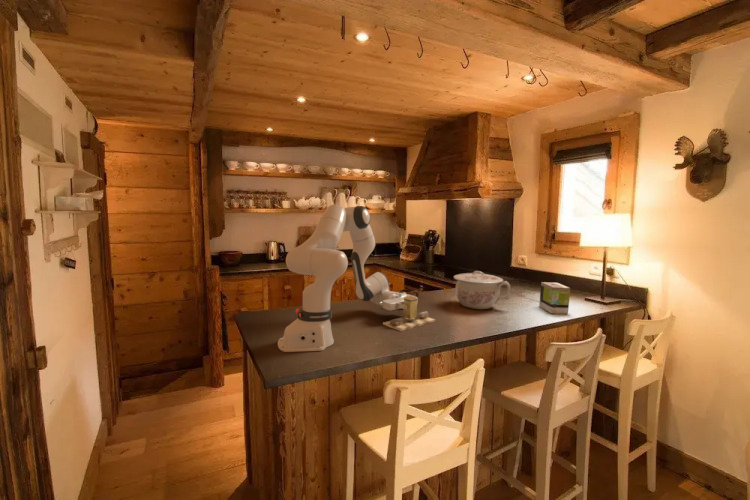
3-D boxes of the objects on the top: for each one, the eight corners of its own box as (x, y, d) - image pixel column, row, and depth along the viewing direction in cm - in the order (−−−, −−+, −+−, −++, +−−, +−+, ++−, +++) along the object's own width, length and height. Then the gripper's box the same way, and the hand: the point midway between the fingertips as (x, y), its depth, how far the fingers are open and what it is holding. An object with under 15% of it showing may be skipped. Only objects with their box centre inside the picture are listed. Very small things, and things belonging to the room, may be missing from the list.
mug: (414, 304, 216) (415, 288, 215) (421, 307, 209) (422, 291, 208) (396, 306, 211) (396, 289, 210) (402, 309, 204) (403, 292, 203)
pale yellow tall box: (410, 318, 177) (410, 299, 176) (403, 316, 181) (403, 297, 180) (416, 317, 180) (417, 298, 179) (409, 314, 184) (410, 296, 183)
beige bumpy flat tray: (400, 331, 168) (400, 323, 168) (383, 324, 178) (383, 316, 177) (435, 321, 184) (435, 313, 184) (417, 315, 193) (417, 308, 193)
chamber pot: (442, 302, 220) (444, 268, 218) (479, 298, 232) (481, 266, 229) (473, 315, 195) (475, 277, 192) (513, 310, 206) (515, 273, 204)
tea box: (568, 314, 202) (571, 287, 200) (550, 313, 202) (552, 287, 200) (556, 306, 216) (558, 281, 215) (538, 306, 217) (540, 281, 215)
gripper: (376, 297, 183) (396, 303, 172) (406, 291, 196) (425, 296, 185) (376, 309, 183) (395, 316, 173) (405, 303, 197) (425, 309, 186)
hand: (411, 306), depth 179 cm, fingers closed on pale yellow tall box, 4 cm apart
